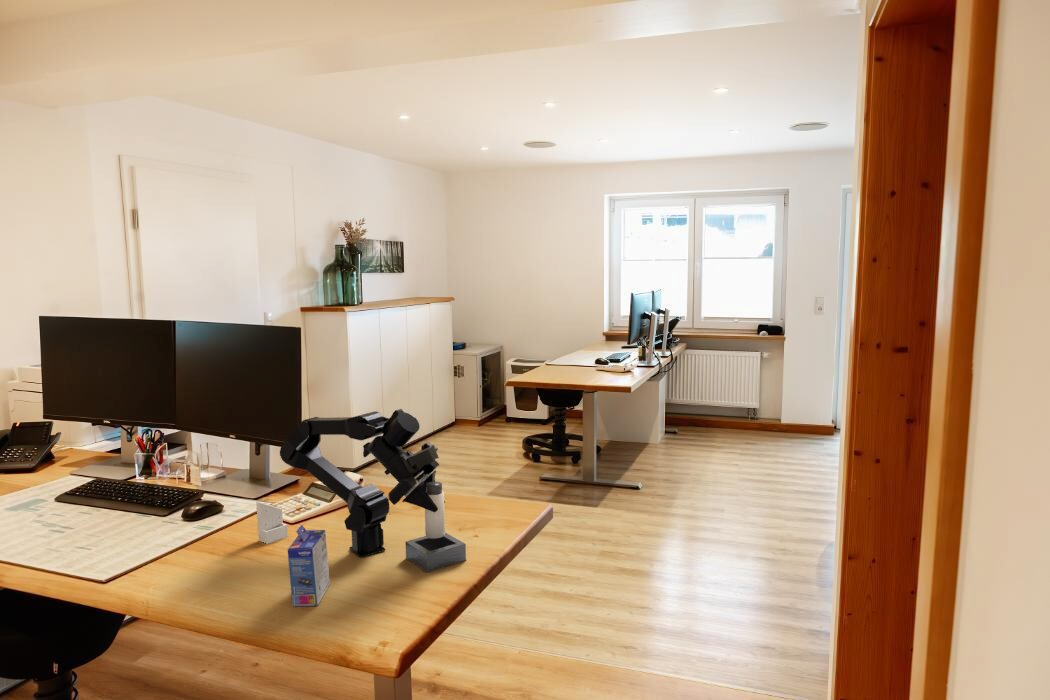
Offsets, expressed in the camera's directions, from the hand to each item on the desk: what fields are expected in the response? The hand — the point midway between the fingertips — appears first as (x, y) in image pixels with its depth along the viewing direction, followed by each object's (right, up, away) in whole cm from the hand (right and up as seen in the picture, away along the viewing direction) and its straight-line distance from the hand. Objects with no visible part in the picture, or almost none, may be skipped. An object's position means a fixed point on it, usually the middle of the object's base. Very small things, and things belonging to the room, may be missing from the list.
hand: (440, 507), depth 157 cm
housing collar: (-1, -12, +2) cm, 13 cm away
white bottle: (-1, -7, +1) cm, 7 cm away
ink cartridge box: (-25, -15, -15) cm, 33 cm away
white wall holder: (-44, -12, +16) cm, 48 cm away
